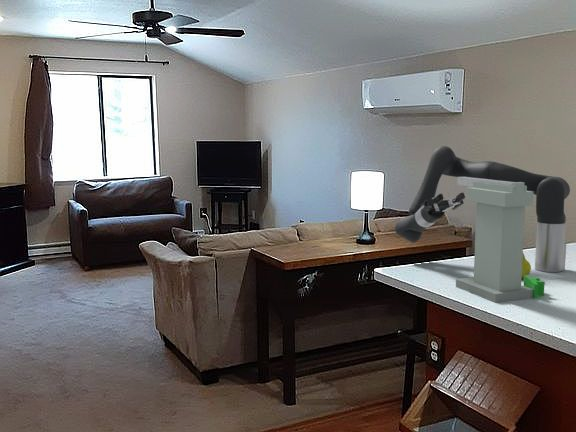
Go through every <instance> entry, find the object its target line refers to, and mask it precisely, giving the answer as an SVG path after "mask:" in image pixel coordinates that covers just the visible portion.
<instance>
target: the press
mask: <svg viewBox="0 0 576 432" xmlns="http://www.w3.org/2000/svg"><path fill="white" fill-rule="evenodd" d="M465 189H466V190H465V191H466V193H465V201H467V202H474V203H476V209H475V212H476V213H475V233H474V234H475V236H474V237H475V238H474V259H473V261H474V263H473V264H474V265H473V277H462V278H456V279H455V288H458V289H461V290H463V291H465V292H468V293H471V294H473V295H476V296H477V297H481V298H483V299H484V300H485V299H486V300H488V301H490V302H493V303H501V302H509V301H515V300H516V301H519V300H524V299H534V298H533V296H534V289H531V288H528V287H525V286H524V285H522V279H523V278H522V258H523V253H524V239H525V238H524V236H525V235H524V234H525V218H526V217H525V214H526V207H527V206H533V205H534V194H533V192H532V191H527V186H524V182H513V183H512V186H508V185H499V184H491V183H482V182H473V187H466V188H465Z"/></svg>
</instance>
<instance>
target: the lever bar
mask: <svg viewBox="0 0 576 432" xmlns="http://www.w3.org/2000/svg"><path fill="white" fill-rule="evenodd" d="M456 178H457V181H456V183H457V185H458V186H464V187H469V188H472V187H473V182H482V183H491V184H499V185H508V186H512V183H513V182H508V181H499V180H490V179H480V178H471V177H456ZM457 185H456V186H457Z"/></svg>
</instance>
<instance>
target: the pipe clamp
mask: <svg viewBox="0 0 576 432" xmlns="http://www.w3.org/2000/svg"><path fill="white" fill-rule="evenodd" d="M523 286H525V287H528V288H531V289H534V296H533V298H532V299H539V297H544V296H545V281H541V278H540V277H530V276H529V274H528V275H524V278H523Z"/></svg>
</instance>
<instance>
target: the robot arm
mask: <svg viewBox="0 0 576 432" xmlns="http://www.w3.org/2000/svg"><path fill="white" fill-rule="evenodd" d="M442 175H443V176H447V177H452V178H453V177H454V178H457V177H471V178H480V179H490V180H499V181H508V182H524V186H527V191H532V192H533V195H535V196H536V197H535V199H536V200H535V211H536V212H535V213H536V217H537V219H536V236H535V239H536V240H535V252H534V253H535V257H534V269H535V270H537V271H540V272H547V273H559V272H560V273H561V272H563V271H565V270H566V255H567V243H566V242H565V238H566V237H565V235H566V221H567V219H566V217H567V216H566V214H565V200H566V199H567V198H568V196H569V195H570V192H571V187H570V185H569V183H568V182H567V181H566V180H565V179H564V178H562V177H560V176H554V175H543V174H538V173H533V172H531V171H526V170H525V169H521V168H518V167H515V166H512V165H508V164H504V163H501V162H497V161H492V160H488V161H487V160H484V161H471V160H466V159H465V158H464V159H463V158H460V157H458V156H456V154H455V152H454V151H453V150H452V148H450V146H447V145H445V146H443V145H442V146H439V147H437V148H436V149H434V150H433V152H432V154H431V156H430V158H429V162H428V166H427V169H426V172H425V175H424V177H423V180H422V183H421V185H420V187H419V189H418V191H417V193H416V196H415V198H414V199H413V201H412V203H411V205H410V207H409V210H408V213H409V214H410V215H408V216H404V217H402V218H401V219H398V221H397V222H396V223H395V225H394V232H395V233H396V235H398V236H399V237H401V238H403V239H405V240H407V241H408V242H410V243H417V242H418V241H420V239H421V238H422V237H423V232H424V231H425V230H426V229H427V228H429V227H431V226H432V225H434V224H436V223H437V222H439V220H441V219H442V218H444V215H445V213H446V212H447V211H448V210H450V209H452V210H453V211H454V210H457V209H458V208H459V207H461V206H462V205H463V204H464V203H465V202H464V200H465V199H466V194H465V193H464V192H460V193H458V194H457V195H456V196H454V197H447V198H445V199H444V195H443V193H439V194H437V195H436V193H437V188H438V187H439V186H438V185H439V182H440V180H441V177H442ZM449 202H450V203H449Z"/></svg>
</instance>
